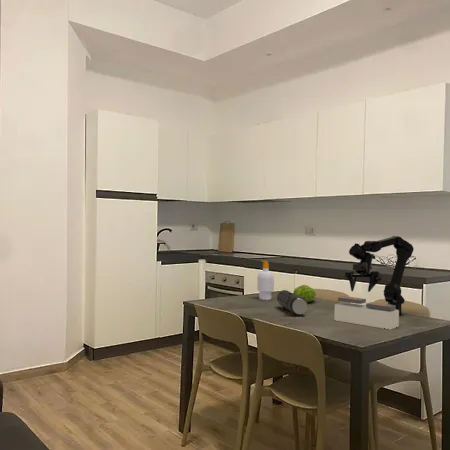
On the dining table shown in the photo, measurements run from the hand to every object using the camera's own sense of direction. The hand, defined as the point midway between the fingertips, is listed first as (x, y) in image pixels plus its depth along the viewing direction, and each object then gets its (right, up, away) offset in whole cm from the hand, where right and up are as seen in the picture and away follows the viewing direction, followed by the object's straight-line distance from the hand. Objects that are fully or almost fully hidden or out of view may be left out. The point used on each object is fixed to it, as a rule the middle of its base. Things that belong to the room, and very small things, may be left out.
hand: (360, 291), depth 240 cm
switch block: (0, -14, -8) cm, 16 cm away
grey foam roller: (-32, -14, +20) cm, 40 cm away
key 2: (+6, -6, -13) cm, 16 cm away
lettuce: (-18, -14, +56) cm, 61 cm away
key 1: (-5, -5, -3) cm, 7 cm away
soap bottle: (-43, -14, +61) cm, 76 cm away
